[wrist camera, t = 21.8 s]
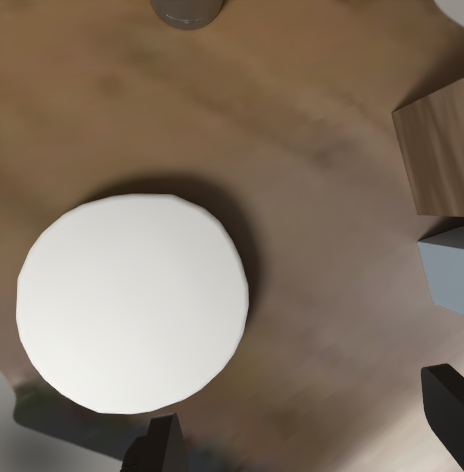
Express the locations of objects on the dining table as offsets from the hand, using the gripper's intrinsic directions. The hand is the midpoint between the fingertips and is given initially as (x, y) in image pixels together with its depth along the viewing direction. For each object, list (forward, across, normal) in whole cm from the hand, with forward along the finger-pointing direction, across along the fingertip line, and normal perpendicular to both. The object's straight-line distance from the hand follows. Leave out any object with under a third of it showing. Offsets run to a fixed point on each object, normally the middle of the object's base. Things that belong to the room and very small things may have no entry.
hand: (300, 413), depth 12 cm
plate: (+34, +15, +7) cm, 38 cm away
